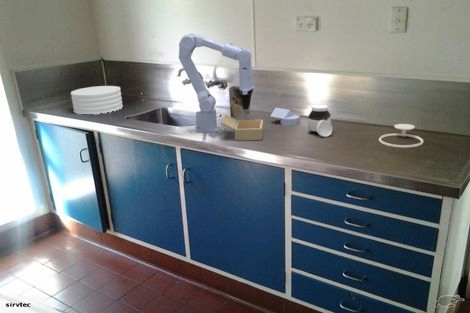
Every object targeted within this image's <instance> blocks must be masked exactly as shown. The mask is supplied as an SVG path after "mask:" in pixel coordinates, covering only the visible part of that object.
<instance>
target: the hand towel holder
mask: <svg viewBox="0 0 470 313" xmlns="http://www.w3.org/2000/svg"><path fill="white" fill-rule="evenodd" d="M393 127H394V128H395V129H397V130H401V133H399V132H396V133H395V132H394V133H386V134H383V135H381V136H380V137H379V138H378V141H379V143H381V144H382V145H385V146H388V147H392V148H401V149H405V148H406V149H407V148H408V149H409V148H411V149H412V148H416V147H419V146H422V145H423V144H424V139H423V138H422V137H420V136H418V135H414V134H410V133H407V132H406V131H412V130H413V129H415V127H416V126H415V125H413V124H409V123H398V124H394V126H393ZM397 136H398V137H409V138H413V139H415V140H419V141H420V142H418V143H415V144H404V145H403V144H394V143H388V142H386V141H383V140H382V139H384V138H387V137H397Z"/></svg>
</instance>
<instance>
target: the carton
mask: <svg viewBox="0 0 470 313" xmlns="http://www.w3.org/2000/svg"><path fill="white" fill-rule="evenodd" d="M263 136H264V120H263V119H248V120H237V123H236V125H235V128H234V140H236V141H261V140H263Z"/></svg>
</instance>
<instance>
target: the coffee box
mask: <svg viewBox="0 0 470 313" xmlns="http://www.w3.org/2000/svg"><path fill="white" fill-rule="evenodd" d="M239 87H240V85H239V86H236V85H234V86H233V85H232V86H231V87H229V88H228V94H229V96H228V97H229V109H230V117H232V118H234V119H236V120H237V121H238V120H251V118H252V116H251V114H252V113H251V104H250V105H249V109H244V108H243V104H242V100H241V98H240V96H239V94H240V93H242V92H241V90H240V89H239Z"/></svg>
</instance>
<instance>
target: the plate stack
mask: <svg viewBox="0 0 470 313" xmlns="http://www.w3.org/2000/svg"><path fill="white" fill-rule="evenodd" d="M70 96H71V97H70V98H71V102H72V103H71V104H72V108H73V112H75V113H74V114H76V113H77V114H76V115H81V114H94V115H101V114H100V113H103V114H108V113H107V112H109V113H112V111H114V112H116V110H117V111H120V110H121V109H123V108H122V107H124V106H123V101H122V100H123V98H122V91H121V86H118V85H117V86H115V85H100V86H99V85H98V86H97V85H96V86H90V87H89V86H88V87H84V88H83V87H82V88H77V89H74V90H72V91H71V92H70ZM119 109H120V110H119Z"/></svg>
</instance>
